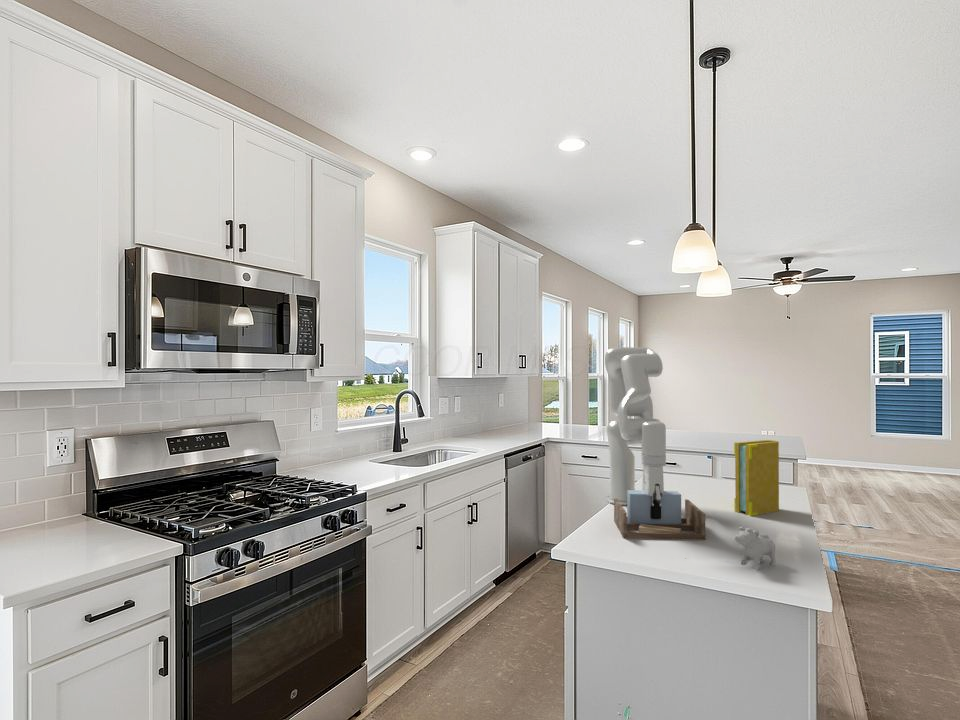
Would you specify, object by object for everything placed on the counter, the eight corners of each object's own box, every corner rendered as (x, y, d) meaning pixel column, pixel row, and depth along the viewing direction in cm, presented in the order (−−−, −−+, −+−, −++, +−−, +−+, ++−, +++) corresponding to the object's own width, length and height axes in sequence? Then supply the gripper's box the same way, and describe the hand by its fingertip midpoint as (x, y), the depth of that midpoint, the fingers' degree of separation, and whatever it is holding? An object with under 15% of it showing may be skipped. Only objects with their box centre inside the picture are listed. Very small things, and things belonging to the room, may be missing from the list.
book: (750, 516, 199) (749, 445, 199) (734, 511, 205) (734, 442, 205) (783, 510, 206) (783, 441, 206) (767, 506, 212) (767, 439, 212)
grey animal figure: (729, 566, 151) (729, 526, 151) (761, 558, 157) (760, 519, 157) (747, 573, 146) (747, 531, 146) (779, 564, 152) (778, 524, 152)
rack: (614, 525, 188) (614, 498, 188) (688, 526, 186) (688, 499, 186) (623, 542, 170) (623, 512, 170) (705, 544, 168) (705, 514, 168)
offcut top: (640, 530, 179) (640, 524, 179) (680, 535, 174) (680, 528, 174) (638, 533, 175) (638, 527, 175) (679, 538, 170) (679, 532, 170)
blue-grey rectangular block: (627, 526, 186) (627, 490, 186) (677, 527, 185) (677, 491, 185) (630, 531, 181) (630, 494, 181) (681, 532, 180) (681, 494, 180)
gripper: (636, 455, 192) (636, 508, 192) (647, 464, 175) (647, 523, 175) (659, 455, 191) (659, 509, 191) (672, 465, 174) (672, 524, 174)
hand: (653, 515), depth 183 cm, fingers closed on blue-grey rectangular block, 5 cm apart
